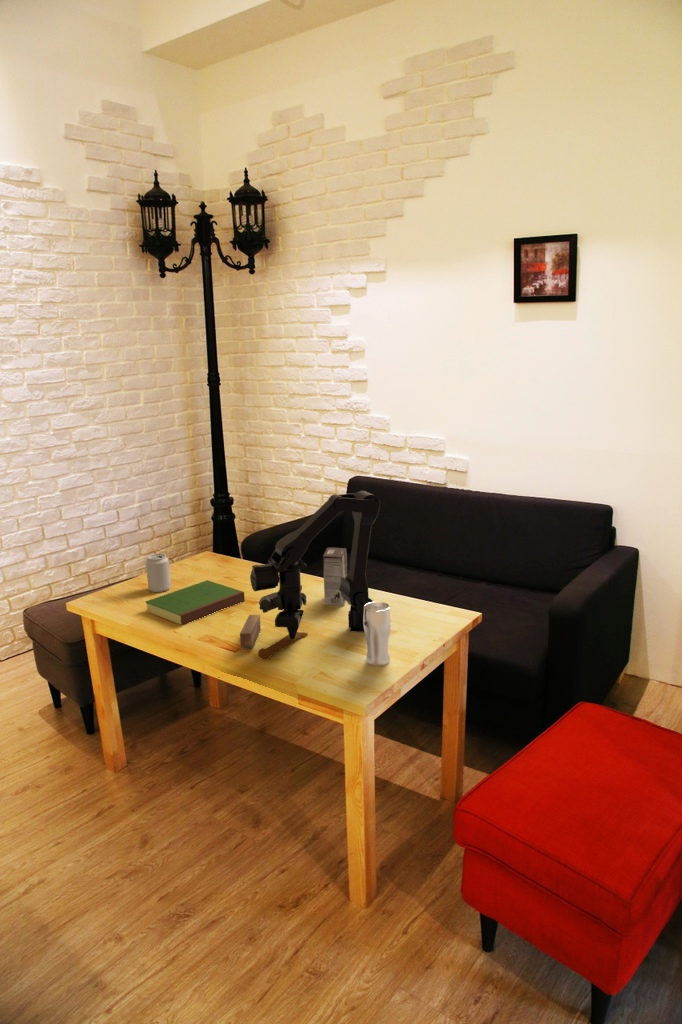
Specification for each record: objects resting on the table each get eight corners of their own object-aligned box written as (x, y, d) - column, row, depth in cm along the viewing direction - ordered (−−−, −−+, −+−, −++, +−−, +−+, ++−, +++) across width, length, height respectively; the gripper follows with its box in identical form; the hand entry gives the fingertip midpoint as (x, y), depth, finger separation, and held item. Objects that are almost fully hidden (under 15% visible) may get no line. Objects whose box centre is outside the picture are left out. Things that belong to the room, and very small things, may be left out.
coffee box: (329, 594, 230) (327, 547, 226) (348, 595, 229) (347, 547, 225) (324, 605, 221) (321, 555, 217) (344, 605, 220) (342, 556, 216)
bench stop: (260, 631, 203) (259, 614, 202) (252, 650, 191) (250, 633, 189) (250, 631, 203) (249, 614, 202) (241, 650, 191) (239, 633, 190)
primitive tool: (293, 632, 203) (292, 621, 202) (310, 635, 200) (309, 624, 200) (256, 661, 186) (255, 648, 185) (274, 664, 184) (273, 652, 183)
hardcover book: (182, 627, 209) (181, 615, 208) (146, 612, 221) (145, 601, 220) (246, 602, 227) (245, 591, 226) (209, 590, 239) (209, 579, 238)
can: (175, 588, 240) (172, 554, 238) (157, 594, 235) (153, 560, 232) (162, 584, 245) (159, 551, 242) (144, 590, 240) (140, 556, 237)
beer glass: (386, 668, 178) (385, 612, 174) (360, 664, 180) (358, 609, 177) (395, 657, 184) (394, 602, 180) (370, 653, 187) (368, 599, 183)
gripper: (266, 573, 201) (269, 625, 204) (254, 597, 183) (257, 653, 186) (305, 573, 200) (307, 625, 204) (296, 597, 182) (299, 653, 185)
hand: (292, 638), depth 195 cm, fingers closed
